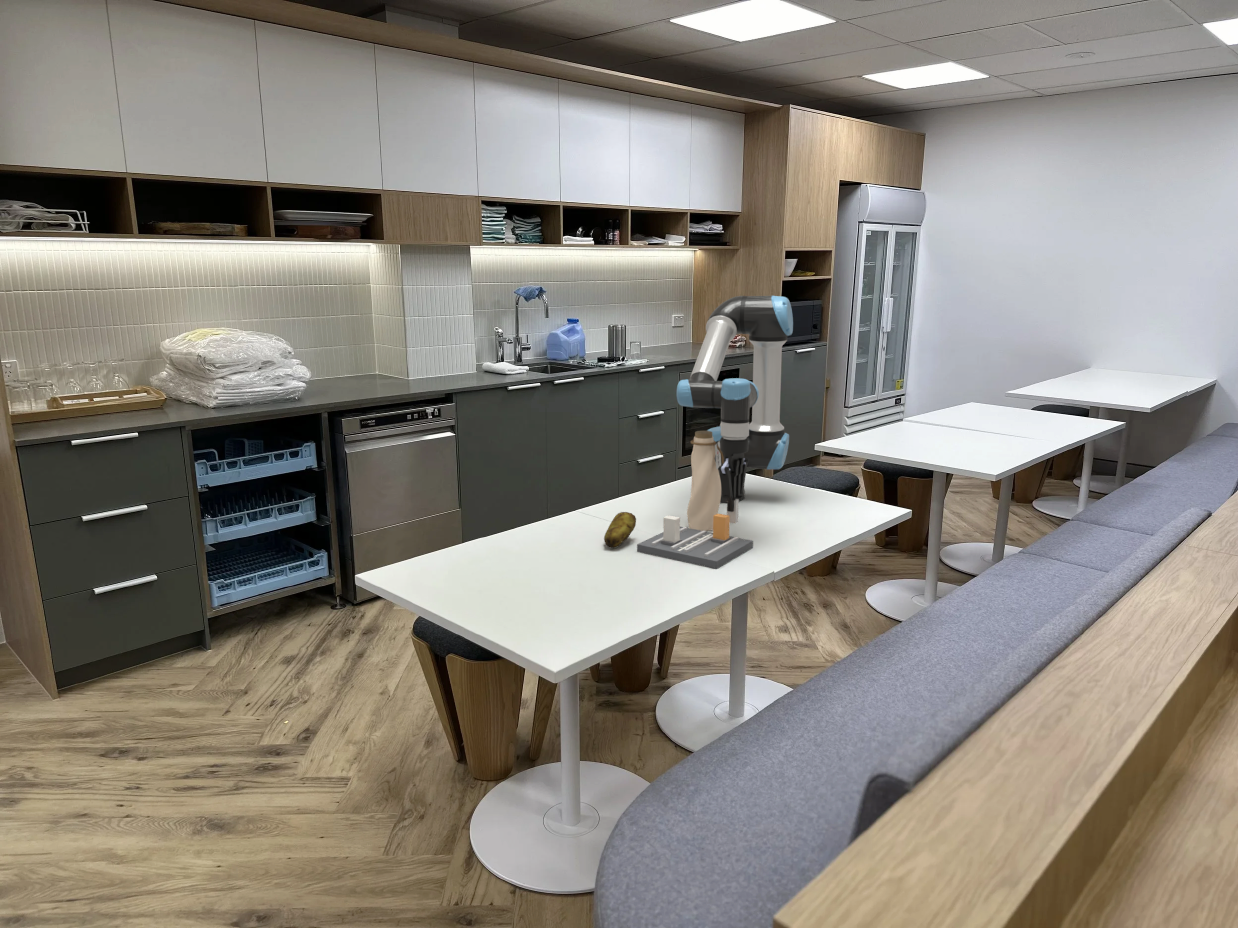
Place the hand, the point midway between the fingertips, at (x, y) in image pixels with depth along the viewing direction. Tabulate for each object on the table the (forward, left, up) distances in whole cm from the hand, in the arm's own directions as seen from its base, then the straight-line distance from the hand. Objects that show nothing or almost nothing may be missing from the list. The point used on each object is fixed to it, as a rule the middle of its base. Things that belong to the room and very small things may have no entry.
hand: (732, 521), depth 235 cm
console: (+11, -5, -6) cm, 14 cm away
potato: (+18, -25, -6) cm, 32 cm away
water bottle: (-8, -13, -6) cm, 16 cm away
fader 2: (+6, 0, -4) cm, 7 cm away
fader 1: (+15, -10, -4) cm, 19 cm away
